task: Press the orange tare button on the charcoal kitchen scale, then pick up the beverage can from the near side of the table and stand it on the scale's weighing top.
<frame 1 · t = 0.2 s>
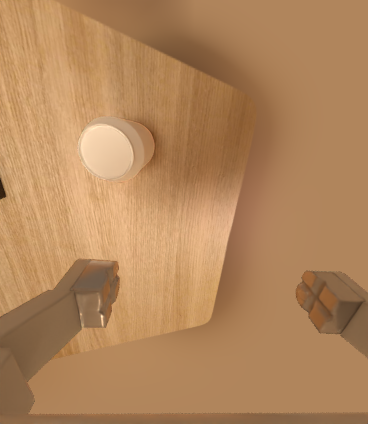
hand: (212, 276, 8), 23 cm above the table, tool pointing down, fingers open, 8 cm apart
beverage can: (135, 144, 27), on the table
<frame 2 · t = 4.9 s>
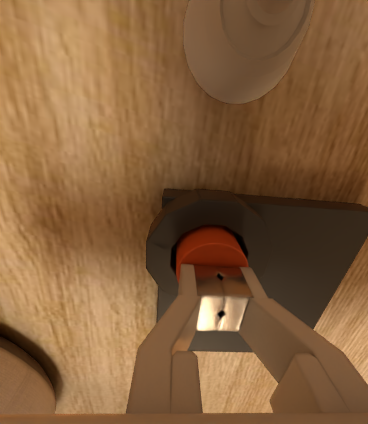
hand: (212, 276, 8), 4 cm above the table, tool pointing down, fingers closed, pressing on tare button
chalice: (240, 38, 8), on the table
tare button: (208, 259, 9), point 3 cm above the table, slide at -0.6 cm, touching gripper
scale: (241, 279, 13), on the table
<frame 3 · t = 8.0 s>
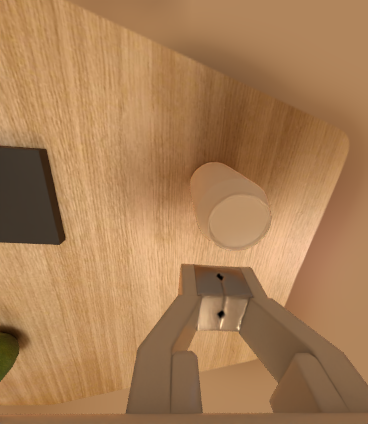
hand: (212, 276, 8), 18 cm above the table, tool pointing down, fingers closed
beverage can: (211, 183, 25), on the table
scale: (10, 196, 24), on the table
avocado: (8, 335, 36), on the table
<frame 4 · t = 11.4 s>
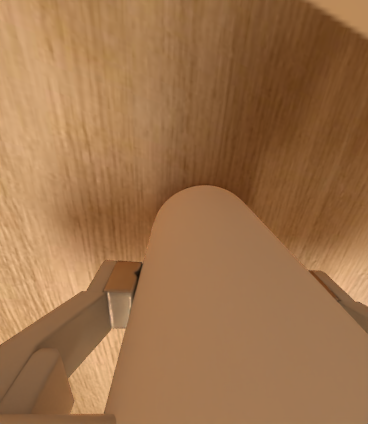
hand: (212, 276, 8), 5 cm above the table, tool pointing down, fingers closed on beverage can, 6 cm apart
beverage can: (200, 224, 12), on the table, touching gripper
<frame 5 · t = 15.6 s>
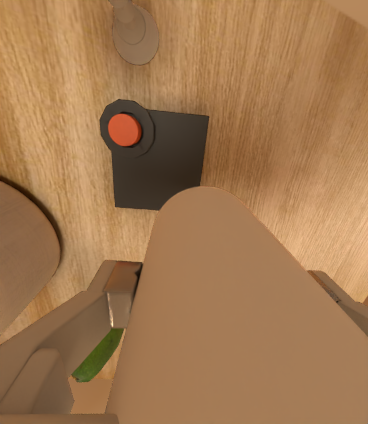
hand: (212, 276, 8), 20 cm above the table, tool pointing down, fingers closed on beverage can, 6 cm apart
chalice: (136, 37, 20), on the table
tare button: (125, 130, 20), point 4 cm above the table, slide at 0.1 cm
beverage can: (200, 225, 12), point 15 cm above the table, touching gripper
scale: (158, 164, 26), on the table
avocado: (109, 307, 37), on the table
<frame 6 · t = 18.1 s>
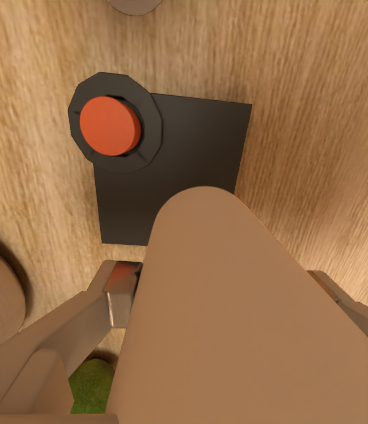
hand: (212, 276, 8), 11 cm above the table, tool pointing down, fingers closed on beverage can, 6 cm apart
tare button: (113, 128, 12), point 4 cm above the table, slide at 0.1 cm
beverage can: (200, 225, 12), point 6 cm above the table, touching gripper
scale: (167, 179, 17), on the table
avocado: (99, 360, 28), on the table
when the fingers open (6 cm above the table, at t = 20.1 s): beverage can stays where it is, resting on scale.
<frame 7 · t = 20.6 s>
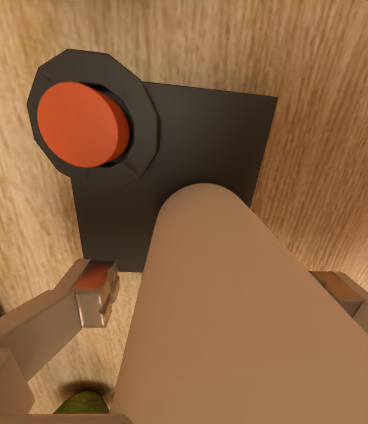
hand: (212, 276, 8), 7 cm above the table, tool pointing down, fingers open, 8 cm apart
tare button: (89, 128, 8), point 4 cm above the table, slide at 0.1 cm
beverage can: (200, 220, 13), point 1 cm above the table, touching scale
scale: (165, 192, 14), on the table
avocado: (89, 392, 25), on the table
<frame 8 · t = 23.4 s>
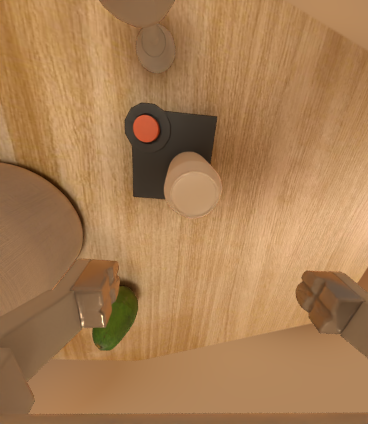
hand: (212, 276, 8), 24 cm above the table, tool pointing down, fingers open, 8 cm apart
planter: (24, 222, 33), on the table
chalice: (155, 49, 24), on the table
tare button: (146, 129, 24), point 4 cm above the table, slide at 0.1 cm
beverage can: (187, 171, 29), point 1 cm above the table, touching scale
scale: (172, 158, 29), on the table
avocado: (123, 290, 41), on the table
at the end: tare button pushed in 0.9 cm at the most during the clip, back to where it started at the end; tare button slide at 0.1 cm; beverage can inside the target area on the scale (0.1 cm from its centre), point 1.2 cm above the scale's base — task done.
